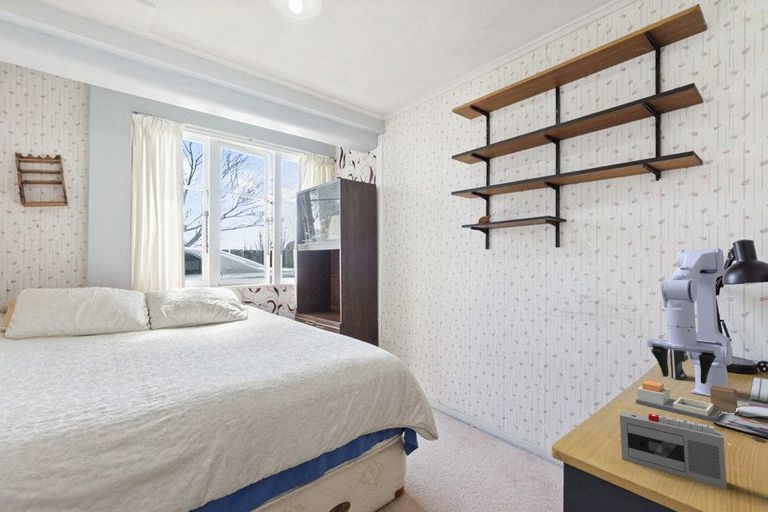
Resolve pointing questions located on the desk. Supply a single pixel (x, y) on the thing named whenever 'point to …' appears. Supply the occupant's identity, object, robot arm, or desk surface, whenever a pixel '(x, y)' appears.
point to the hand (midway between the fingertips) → (684, 379)
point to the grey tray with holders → (677, 404)
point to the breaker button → (653, 386)
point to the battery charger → (677, 363)
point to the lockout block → (724, 398)
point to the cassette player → (674, 447)
